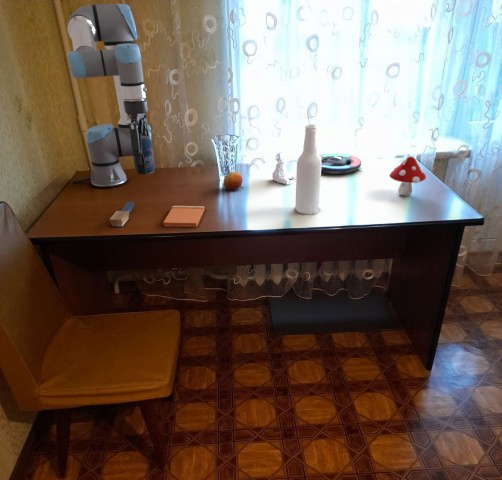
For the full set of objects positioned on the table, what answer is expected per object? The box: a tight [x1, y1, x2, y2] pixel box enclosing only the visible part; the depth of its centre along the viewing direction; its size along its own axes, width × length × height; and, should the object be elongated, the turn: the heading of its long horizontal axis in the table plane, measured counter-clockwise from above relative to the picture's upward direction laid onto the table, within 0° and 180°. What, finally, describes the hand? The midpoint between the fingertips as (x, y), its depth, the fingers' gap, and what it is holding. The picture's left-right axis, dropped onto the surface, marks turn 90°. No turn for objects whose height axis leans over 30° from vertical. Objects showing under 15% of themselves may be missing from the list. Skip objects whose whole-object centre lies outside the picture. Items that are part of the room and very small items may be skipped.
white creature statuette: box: [271, 151, 294, 185], centre depth 205 cm, size 10×9×12 cm
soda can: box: [131, 135, 156, 175], centre depth 166 cm, size 7×7×12 cm
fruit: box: [223, 171, 243, 192], centre depth 200 cm, size 8×8×8 cm
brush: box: [109, 201, 135, 227], centre depth 179 cm, size 5×18×3 cm, turn 174°
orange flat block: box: [162, 205, 205, 228], centre depth 177 cm, size 12×16×2 cm
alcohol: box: [295, 124, 322, 215], centre depth 173 cm, size 9×9×30 cm
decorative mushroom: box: [389, 156, 427, 197], centre depth 188 cm, size 14×14×15 cm
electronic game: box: [318, 153, 362, 175], centre depth 221 cm, size 23×23×5 cm
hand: (145, 170), depth 169 cm, fingers closed on soda can, 7 cm apart
